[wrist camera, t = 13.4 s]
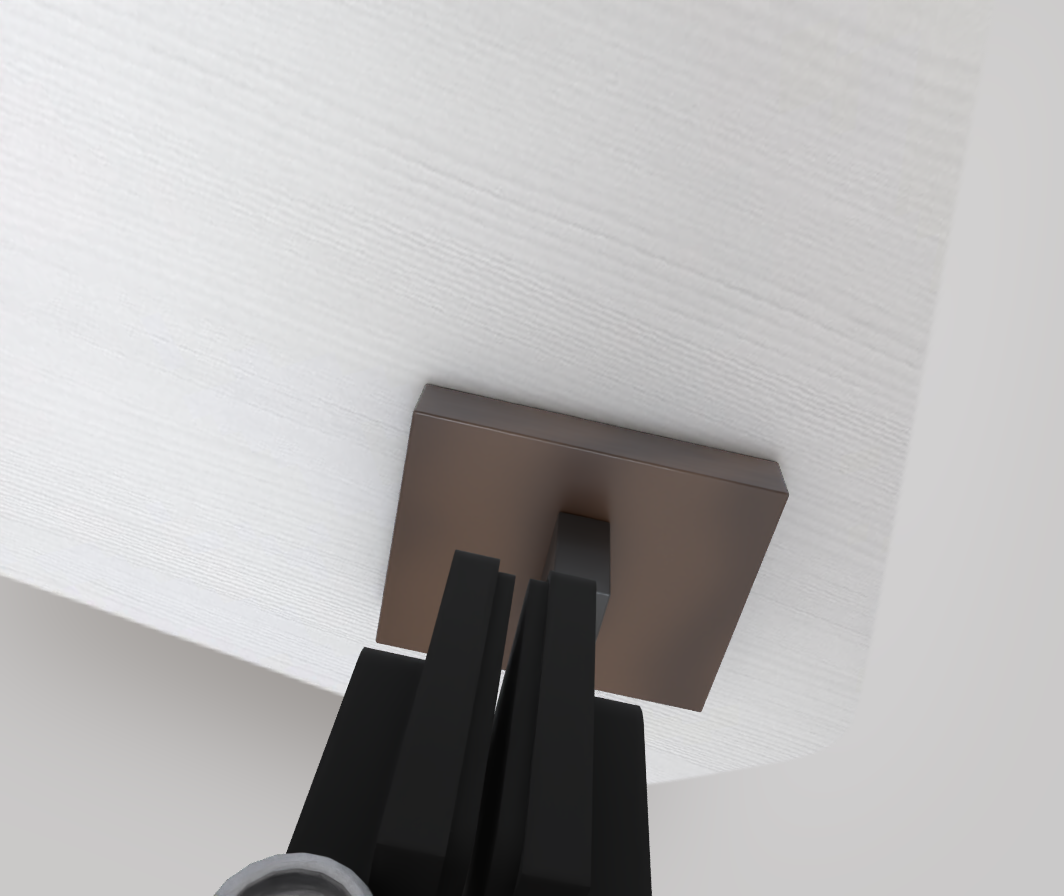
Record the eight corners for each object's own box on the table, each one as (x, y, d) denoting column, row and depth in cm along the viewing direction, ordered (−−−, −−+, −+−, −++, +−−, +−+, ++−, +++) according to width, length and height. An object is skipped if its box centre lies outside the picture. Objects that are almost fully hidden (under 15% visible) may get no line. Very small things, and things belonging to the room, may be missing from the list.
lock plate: (778, 461, 35) (790, 494, 33) (696, 672, 40) (701, 713, 38) (425, 382, 34) (413, 410, 32) (387, 606, 40) (374, 643, 37)
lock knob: (559, 510, 34) (552, 586, 29) (610, 522, 34) (611, 598, 30) (529, 623, 36) (518, 707, 32) (577, 634, 36) (573, 719, 32)
